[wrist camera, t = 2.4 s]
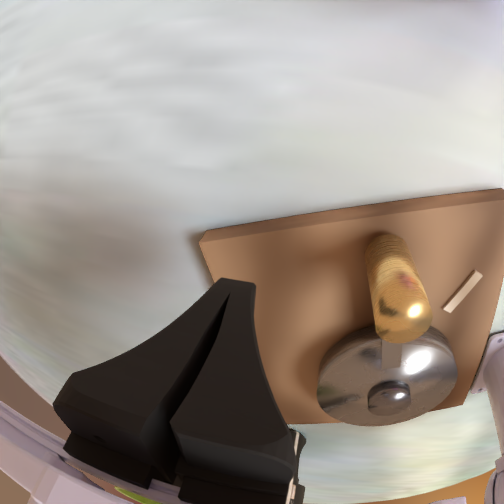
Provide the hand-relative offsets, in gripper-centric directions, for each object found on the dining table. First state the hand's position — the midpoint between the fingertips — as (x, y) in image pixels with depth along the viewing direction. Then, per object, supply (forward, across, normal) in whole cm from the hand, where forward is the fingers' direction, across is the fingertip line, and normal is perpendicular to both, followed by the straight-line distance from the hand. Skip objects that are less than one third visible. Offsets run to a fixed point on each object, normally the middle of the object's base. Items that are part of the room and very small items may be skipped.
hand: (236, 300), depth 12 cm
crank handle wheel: (+5, -9, +7) cm, 12 cm away
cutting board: (+7, -8, +8) cm, 13 cm away
